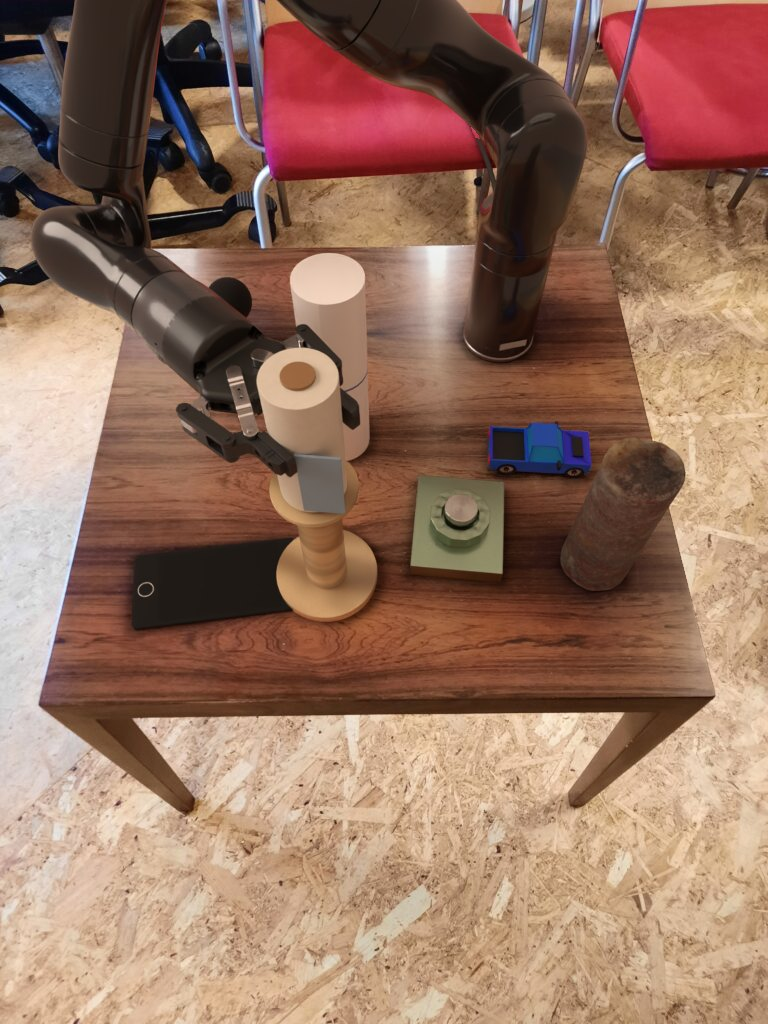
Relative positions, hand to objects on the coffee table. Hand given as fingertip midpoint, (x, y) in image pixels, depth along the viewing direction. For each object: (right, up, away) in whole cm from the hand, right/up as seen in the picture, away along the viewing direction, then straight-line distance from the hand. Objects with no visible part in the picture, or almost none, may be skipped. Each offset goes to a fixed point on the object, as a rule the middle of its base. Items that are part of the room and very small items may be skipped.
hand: (325, 443), depth 58 cm
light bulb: (-15, +18, +42) cm, 48 cm away
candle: (+28, -12, +24) cm, 39 cm away
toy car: (+23, +1, +32) cm, 39 cm away
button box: (+13, -8, +26) cm, 30 cm away
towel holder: (-2, -12, +24) cm, 27 cm away
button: (+13, -6, +23) cm, 27 cm away
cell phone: (-14, -13, +24) cm, 30 cm away
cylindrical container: (-1, +4, +34) cm, 34 cm away
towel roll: (-2, -3, +8) cm, 8 cm away
